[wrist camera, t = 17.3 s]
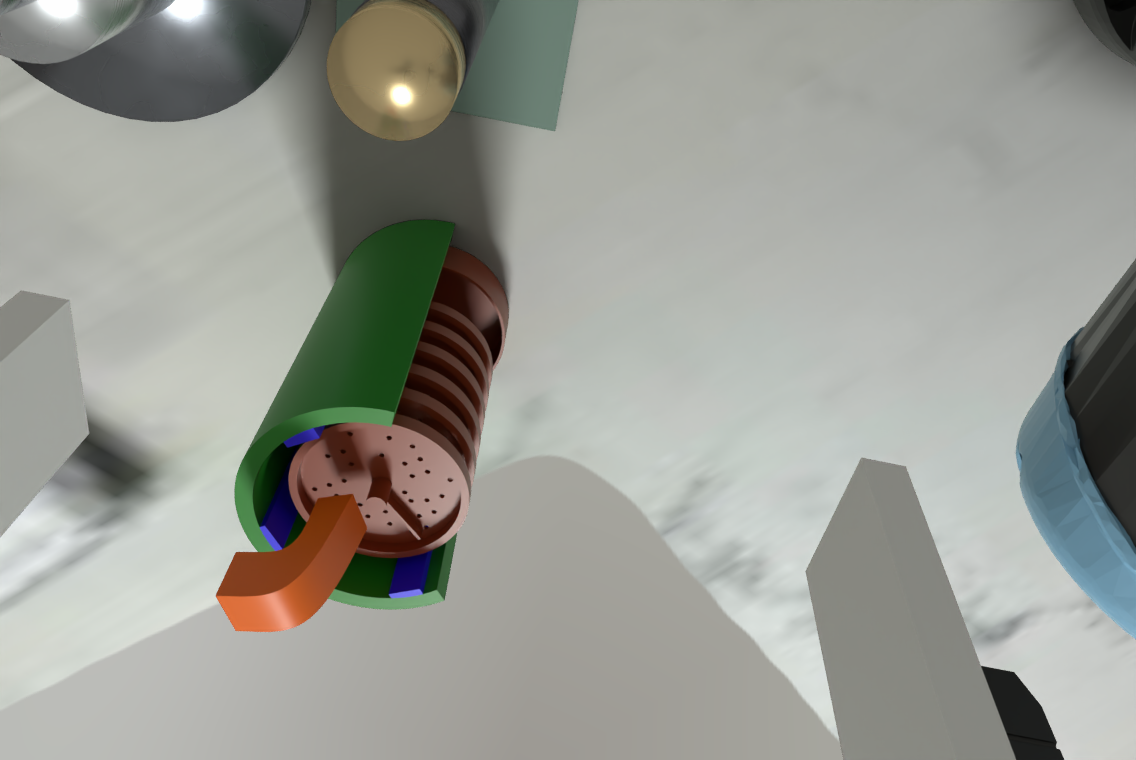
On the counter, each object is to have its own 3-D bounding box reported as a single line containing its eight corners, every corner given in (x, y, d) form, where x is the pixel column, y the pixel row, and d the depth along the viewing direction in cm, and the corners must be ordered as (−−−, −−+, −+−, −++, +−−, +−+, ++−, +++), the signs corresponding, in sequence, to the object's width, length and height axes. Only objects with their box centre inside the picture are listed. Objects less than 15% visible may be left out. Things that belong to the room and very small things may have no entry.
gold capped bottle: (505, -66, 36) (460, 14, 24) (499, 32, 38) (457, 148, 26) (410, -77, 36) (321, -2, 24) (410, 22, 38) (328, 135, 26)
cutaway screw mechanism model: (540, 366, 48) (500, 678, 32) (392, 409, 50) (283, 722, 34) (462, 200, 43) (366, 470, 26) (301, 255, 45) (119, 537, 28)
